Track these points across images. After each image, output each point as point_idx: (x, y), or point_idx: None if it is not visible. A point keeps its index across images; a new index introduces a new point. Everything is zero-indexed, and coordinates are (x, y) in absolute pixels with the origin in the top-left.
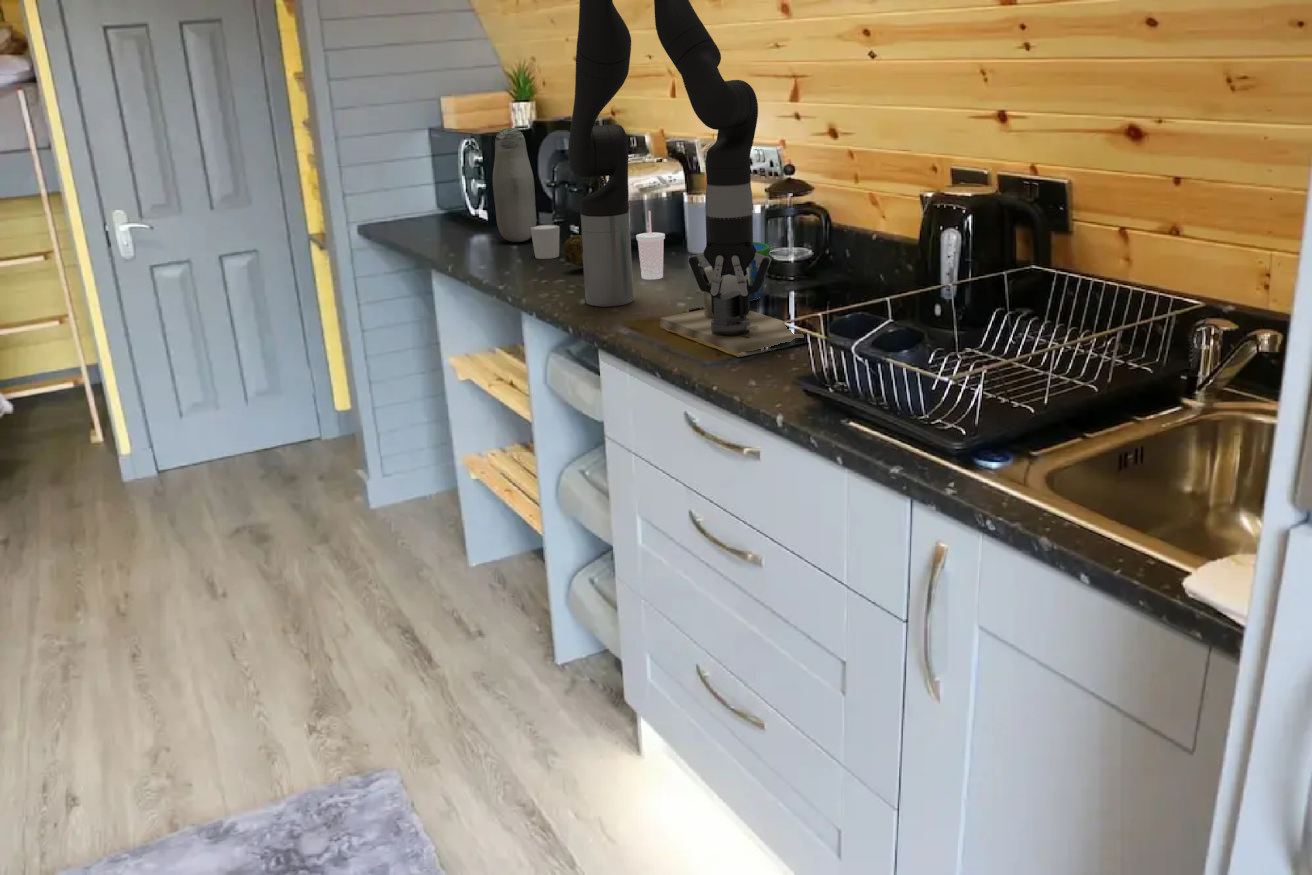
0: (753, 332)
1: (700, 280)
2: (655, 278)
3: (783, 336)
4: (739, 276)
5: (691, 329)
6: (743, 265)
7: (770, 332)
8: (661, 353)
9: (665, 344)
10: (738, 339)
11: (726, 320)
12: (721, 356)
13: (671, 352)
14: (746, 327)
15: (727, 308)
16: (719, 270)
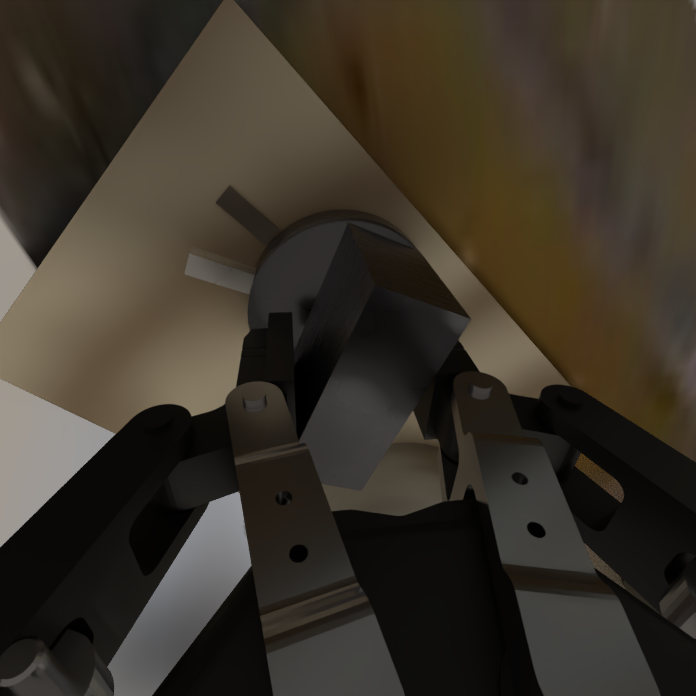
0: (234, 301)
1: (627, 440)
2: None
3: (58, 251)
4: (282, 487)
5: (508, 315)
6: (240, 636)
7: (154, 309)
8: (624, 81)
9: (590, 233)
10: (270, 165)
11: (352, 233)
12: (337, 50)
13: (578, 105)
14: (251, 271)
15: (356, 272)
16: (515, 524)
